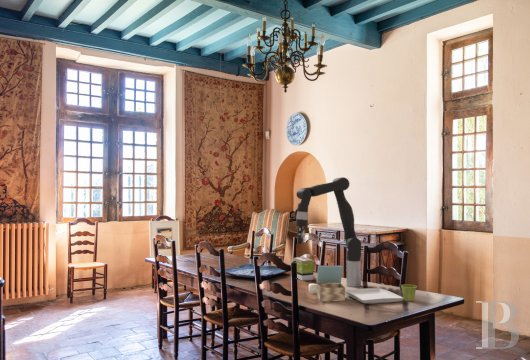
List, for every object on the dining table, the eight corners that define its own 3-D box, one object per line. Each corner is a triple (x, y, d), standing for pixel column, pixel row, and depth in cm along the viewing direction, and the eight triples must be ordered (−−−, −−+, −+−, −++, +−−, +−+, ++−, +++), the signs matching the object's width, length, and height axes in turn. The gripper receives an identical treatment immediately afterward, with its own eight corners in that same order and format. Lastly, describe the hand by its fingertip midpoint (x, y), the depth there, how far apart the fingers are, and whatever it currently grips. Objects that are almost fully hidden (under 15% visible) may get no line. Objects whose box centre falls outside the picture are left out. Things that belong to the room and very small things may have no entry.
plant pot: (405, 297, 286) (405, 283, 286) (419, 300, 279) (419, 285, 279) (397, 300, 280) (397, 285, 280) (411, 303, 273) (411, 288, 273)
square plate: (362, 306, 266) (362, 299, 266) (342, 295, 292) (342, 289, 292) (404, 303, 273) (404, 296, 273) (380, 293, 299) (380, 287, 300)
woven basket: (340, 296, 289) (340, 283, 289) (345, 301, 276) (345, 287, 276) (316, 296, 288) (316, 283, 288) (319, 301, 275) (319, 287, 275)
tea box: (292, 277, 350) (292, 257, 350) (303, 276, 354) (303, 256, 355) (301, 280, 337) (302, 260, 337) (313, 279, 341) (314, 259, 341)
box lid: (340, 283, 289) (340, 282, 290) (342, 266, 282) (342, 265, 283) (316, 283, 288) (316, 282, 289) (318, 266, 282) (318, 265, 283)
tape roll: (316, 292, 300) (316, 283, 301) (318, 294, 295) (318, 285, 295) (308, 292, 300) (308, 283, 300) (309, 294, 295) (309, 285, 295)
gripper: (306, 219, 297) (304, 244, 296) (308, 219, 311) (307, 244, 309) (294, 218, 299) (292, 243, 297) (297, 218, 312) (295, 243, 311)
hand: (300, 243), depth 303 cm, fingers open, 8 cm apart
